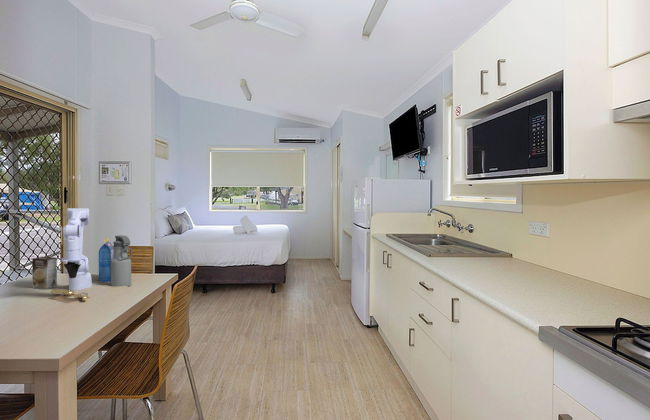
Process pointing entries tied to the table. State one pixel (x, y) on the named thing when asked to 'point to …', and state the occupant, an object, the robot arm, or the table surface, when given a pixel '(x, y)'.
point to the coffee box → (44, 272)
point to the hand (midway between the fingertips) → (72, 277)
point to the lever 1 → (62, 292)
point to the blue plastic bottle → (105, 261)
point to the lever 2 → (83, 296)
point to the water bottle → (121, 262)
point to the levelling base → (66, 298)
